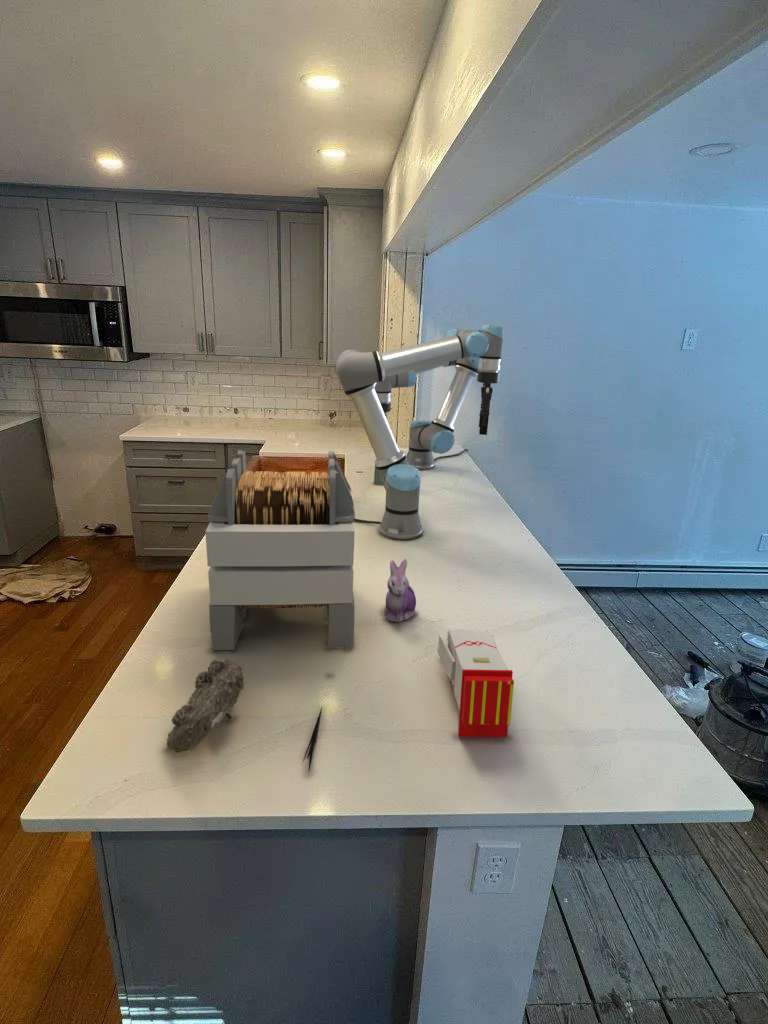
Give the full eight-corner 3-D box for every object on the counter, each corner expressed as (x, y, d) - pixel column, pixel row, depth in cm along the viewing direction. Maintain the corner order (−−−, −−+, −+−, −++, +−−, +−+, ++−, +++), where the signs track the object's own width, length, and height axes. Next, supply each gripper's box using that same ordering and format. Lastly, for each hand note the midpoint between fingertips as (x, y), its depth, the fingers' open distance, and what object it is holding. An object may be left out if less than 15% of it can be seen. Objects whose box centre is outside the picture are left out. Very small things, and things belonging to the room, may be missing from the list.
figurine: (392, 627, 141) (395, 572, 136) (374, 608, 149) (376, 556, 144) (425, 619, 145) (429, 566, 140) (405, 601, 154) (408, 550, 149)
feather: (331, 679, 122) (336, 673, 122) (307, 777, 96) (313, 769, 95) (324, 675, 122) (329, 669, 121) (298, 772, 95) (304, 764, 95)
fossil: (192, 660, 117) (244, 628, 112) (224, 691, 120) (276, 661, 115) (142, 746, 98) (202, 712, 93) (182, 779, 101) (242, 748, 96)
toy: (488, 613, 130) (523, 677, 101) (484, 667, 133) (517, 744, 104) (435, 612, 130) (455, 676, 101) (432, 666, 133) (451, 743, 103)
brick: (394, 486, 253) (395, 462, 250) (374, 484, 254) (374, 461, 251) (395, 482, 258) (396, 459, 255) (375, 481, 260) (376, 458, 256)
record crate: (231, 583, 159) (223, 441, 145) (347, 582, 163) (350, 443, 149) (209, 653, 127) (196, 479, 114) (354, 649, 131) (359, 481, 117)
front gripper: (501, 375, 187) (494, 438, 194) (498, 368, 210) (491, 425, 217) (478, 374, 188) (472, 437, 195) (477, 367, 211) (472, 423, 218)
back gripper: (388, 407, 238) (386, 456, 245) (393, 398, 261) (392, 443, 269) (370, 406, 239) (369, 455, 246) (377, 397, 262) (376, 442, 269)
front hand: (482, 430), depth 206 cm, fingers open, 13 cm apart
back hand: (381, 449), depth 257 cm, fingers open, 13 cm apart
